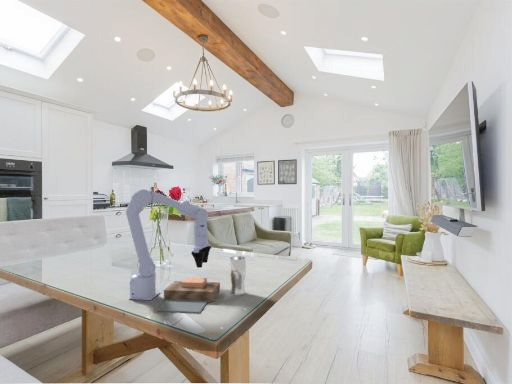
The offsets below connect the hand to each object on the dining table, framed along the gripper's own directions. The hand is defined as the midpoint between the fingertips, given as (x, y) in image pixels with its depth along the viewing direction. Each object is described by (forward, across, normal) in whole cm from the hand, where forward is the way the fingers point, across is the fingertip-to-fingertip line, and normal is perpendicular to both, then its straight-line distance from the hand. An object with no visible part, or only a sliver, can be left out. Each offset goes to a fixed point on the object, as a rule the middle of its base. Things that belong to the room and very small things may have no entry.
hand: (202, 264), depth 124 cm
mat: (+10, -21, +1) cm, 23 cm away
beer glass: (+11, -6, -17) cm, 21 cm away
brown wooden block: (+10, -10, +1) cm, 14 cm away
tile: (+6, -9, +1) cm, 11 cm away
